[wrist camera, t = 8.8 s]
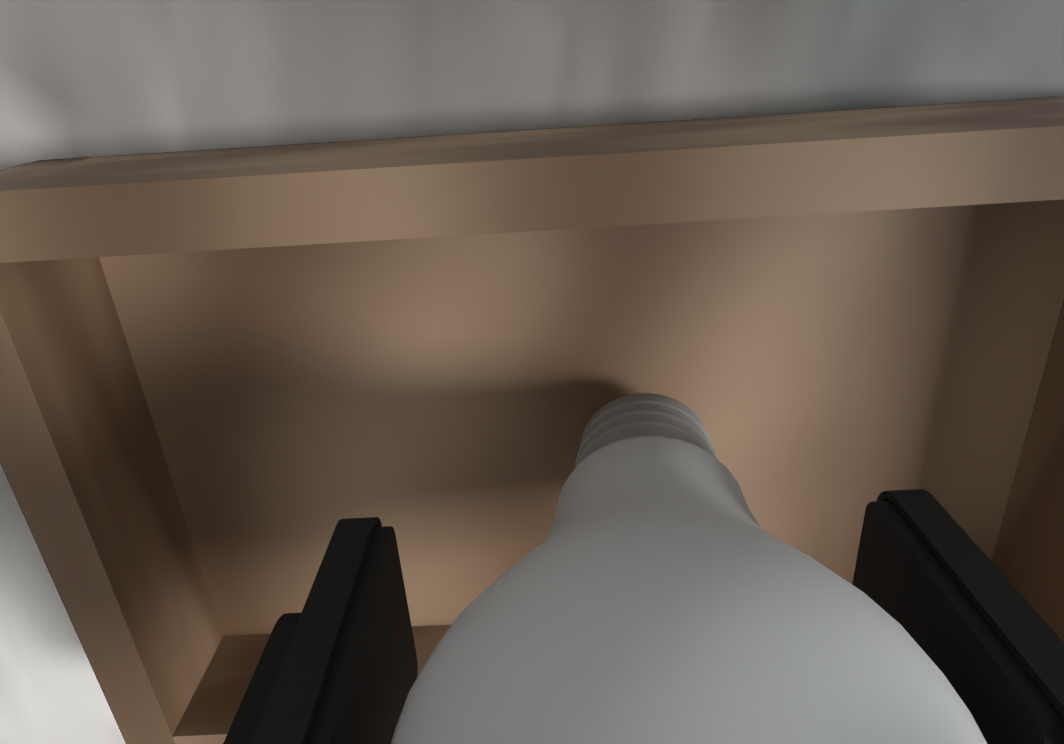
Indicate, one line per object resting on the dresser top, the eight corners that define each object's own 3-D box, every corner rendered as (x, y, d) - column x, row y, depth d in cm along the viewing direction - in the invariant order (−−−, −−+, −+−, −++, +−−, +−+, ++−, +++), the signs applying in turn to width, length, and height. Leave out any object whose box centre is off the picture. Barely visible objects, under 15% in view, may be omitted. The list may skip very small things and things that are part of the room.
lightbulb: (859, 445, 14) (1449, 1425, 4) (622, 588, 16) (645, 1447, 6) (667, 219, 12) (898, 942, 3) (434, 412, 15) (79, 1196, 5)
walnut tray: (1141, 92, 13) (1349, 108, 9) (993, 603, 18) (1095, 726, 14) (40, 160, 13) (-119, 198, 10) (206, 643, 18) (138, 771, 15)
